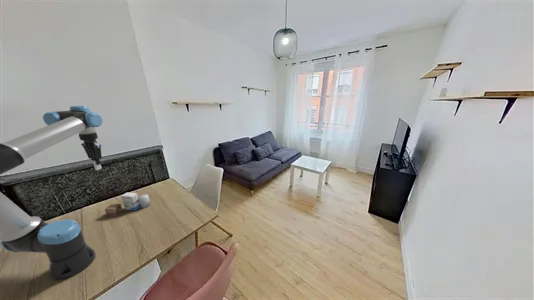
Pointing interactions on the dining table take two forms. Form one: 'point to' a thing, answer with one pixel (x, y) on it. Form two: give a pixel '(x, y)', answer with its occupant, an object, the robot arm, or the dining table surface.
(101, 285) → the dining table surface
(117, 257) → the dining table surface
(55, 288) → the dining table surface
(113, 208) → the walnut block
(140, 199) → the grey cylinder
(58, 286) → the dining table surface
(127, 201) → the ink box
